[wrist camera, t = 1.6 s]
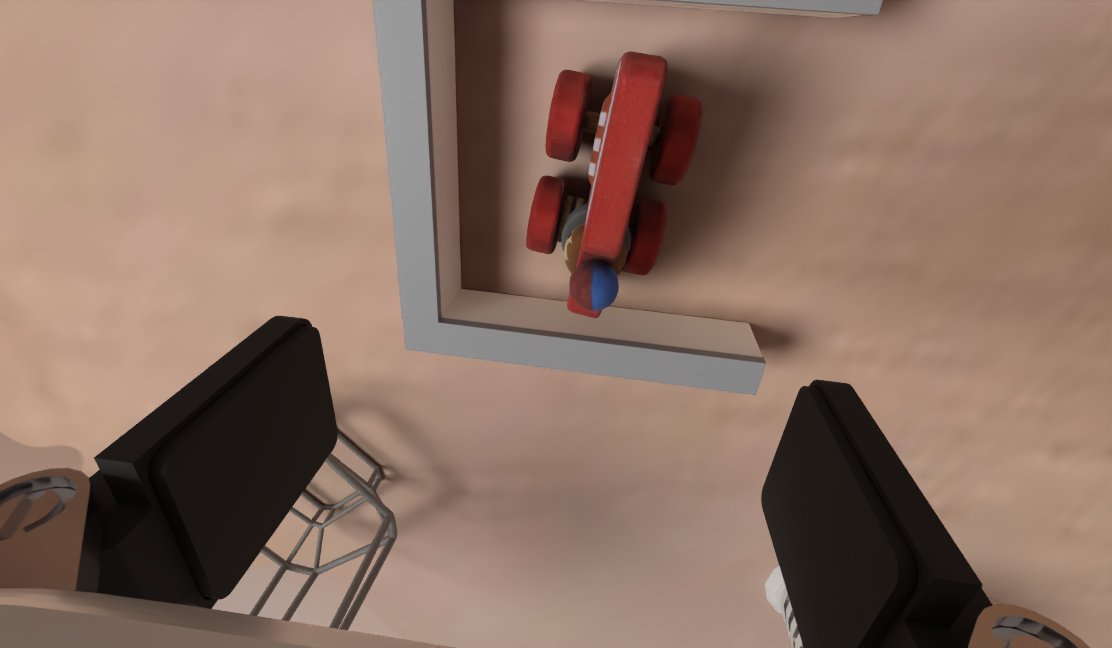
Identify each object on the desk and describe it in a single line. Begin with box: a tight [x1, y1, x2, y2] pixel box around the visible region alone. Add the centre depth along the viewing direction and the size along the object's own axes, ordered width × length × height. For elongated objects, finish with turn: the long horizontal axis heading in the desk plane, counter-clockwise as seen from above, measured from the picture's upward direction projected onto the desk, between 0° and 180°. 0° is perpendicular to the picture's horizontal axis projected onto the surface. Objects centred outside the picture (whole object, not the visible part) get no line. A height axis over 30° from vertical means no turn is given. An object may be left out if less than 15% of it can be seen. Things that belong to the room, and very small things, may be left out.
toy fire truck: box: [526, 52, 702, 318], centre depth 24 cm, size 7×12×10 cm, turn 168°
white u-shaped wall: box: [373, 0, 883, 395], centre depth 26 cm, size 20×20×5 cm
